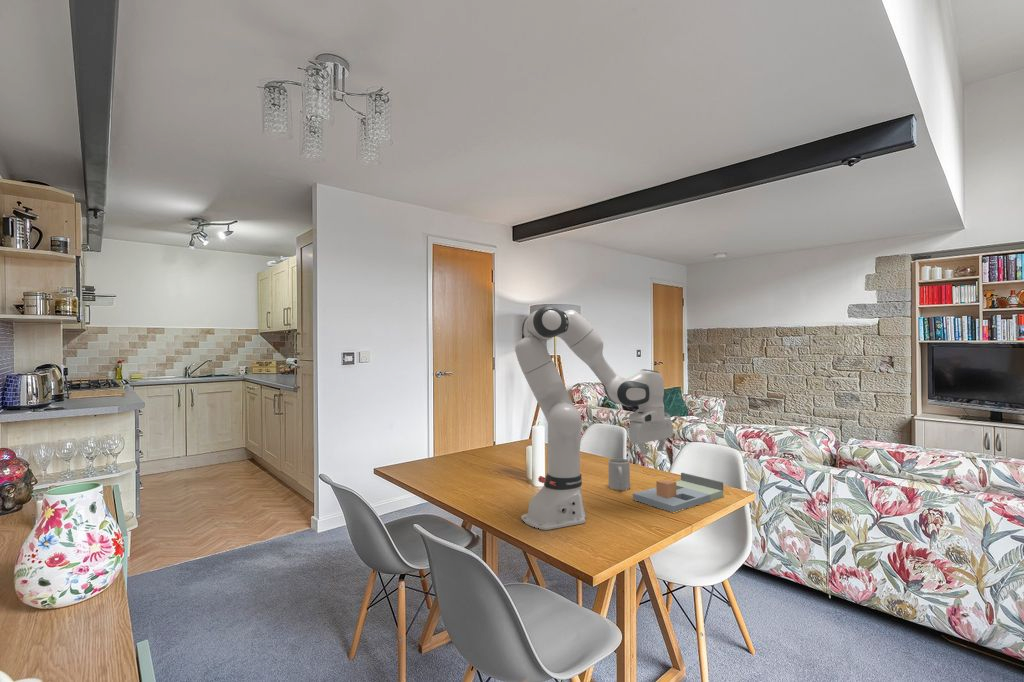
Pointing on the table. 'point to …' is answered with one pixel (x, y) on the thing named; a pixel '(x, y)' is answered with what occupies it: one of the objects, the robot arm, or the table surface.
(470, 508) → the table surface
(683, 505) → the platform
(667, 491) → the block
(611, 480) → the mug
